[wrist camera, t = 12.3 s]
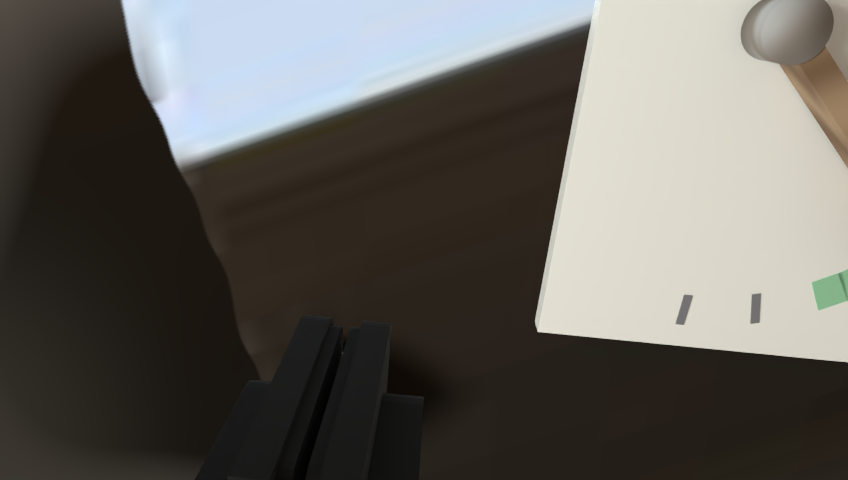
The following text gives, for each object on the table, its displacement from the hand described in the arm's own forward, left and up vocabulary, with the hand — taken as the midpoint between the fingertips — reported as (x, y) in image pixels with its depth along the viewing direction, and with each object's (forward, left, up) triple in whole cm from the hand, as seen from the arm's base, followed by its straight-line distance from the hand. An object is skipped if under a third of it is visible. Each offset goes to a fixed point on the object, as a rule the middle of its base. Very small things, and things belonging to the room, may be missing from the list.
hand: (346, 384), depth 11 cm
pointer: (-1, +26, -27) cm, 38 cm away
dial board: (+2, +24, -29) cm, 37 cm away
